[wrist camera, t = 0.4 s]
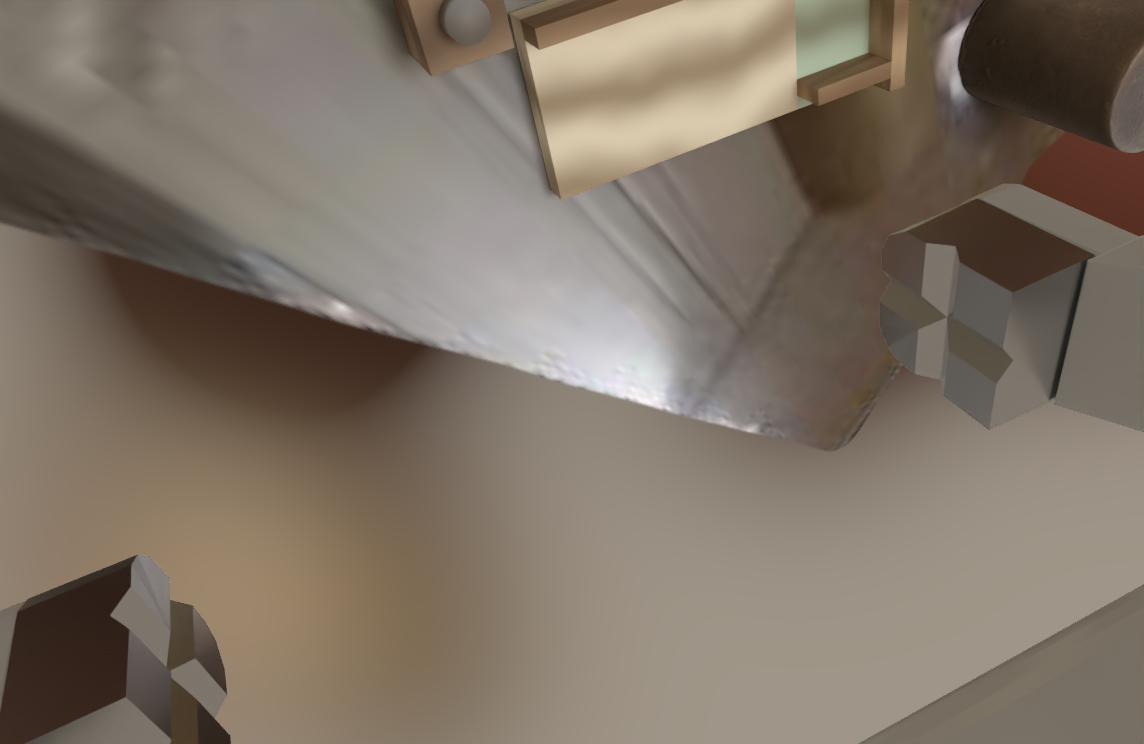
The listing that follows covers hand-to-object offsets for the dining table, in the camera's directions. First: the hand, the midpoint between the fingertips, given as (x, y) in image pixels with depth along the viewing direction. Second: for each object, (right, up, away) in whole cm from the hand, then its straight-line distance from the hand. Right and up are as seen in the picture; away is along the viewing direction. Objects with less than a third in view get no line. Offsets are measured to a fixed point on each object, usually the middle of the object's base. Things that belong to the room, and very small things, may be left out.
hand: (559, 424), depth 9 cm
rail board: (+9, +23, +47) cm, 53 cm away
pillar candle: (+35, +27, +58) cm, 73 cm away
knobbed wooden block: (-8, +22, +39) cm, 46 cm away
